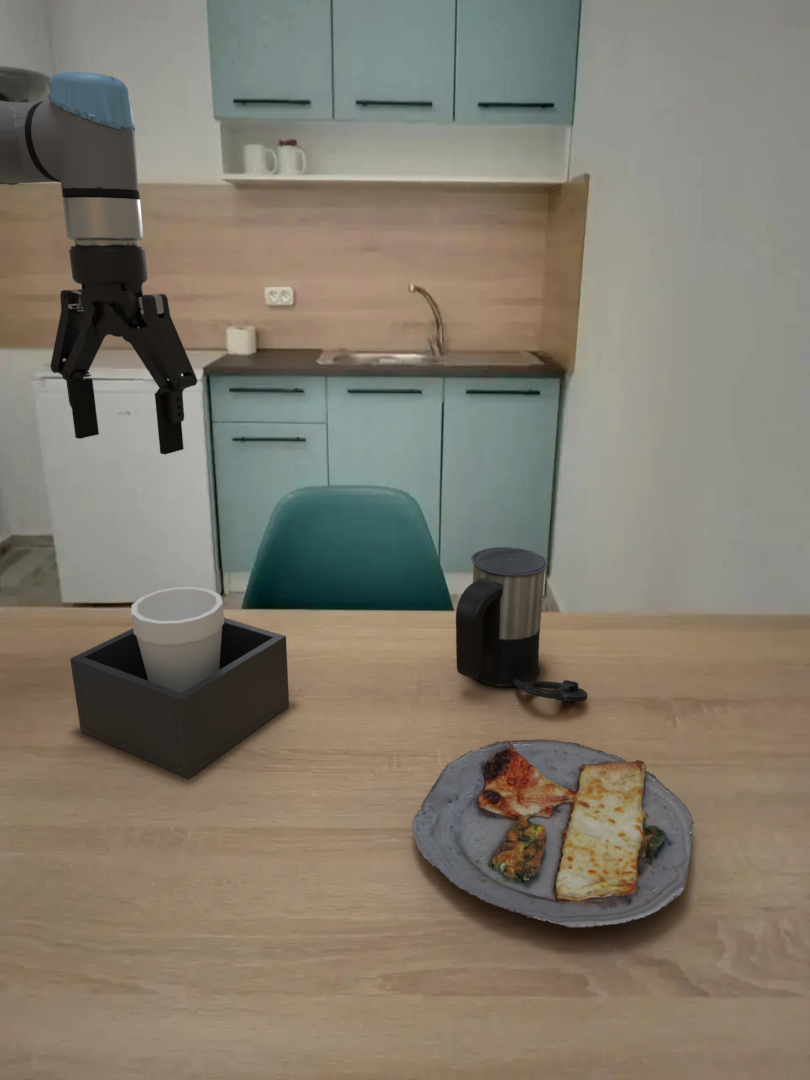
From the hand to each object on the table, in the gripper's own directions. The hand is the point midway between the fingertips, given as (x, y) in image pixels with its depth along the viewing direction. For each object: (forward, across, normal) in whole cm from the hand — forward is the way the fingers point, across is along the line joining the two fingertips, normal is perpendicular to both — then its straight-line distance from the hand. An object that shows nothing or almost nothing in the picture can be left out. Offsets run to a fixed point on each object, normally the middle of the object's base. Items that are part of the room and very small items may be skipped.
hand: (128, 443), depth 93 cm
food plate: (+29, -54, +3) cm, 61 cm away
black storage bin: (+29, -12, +6) cm, 32 cm away
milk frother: (+29, -41, -21) cm, 54 cm away
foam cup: (+28, -12, +6) cm, 31 cm away
